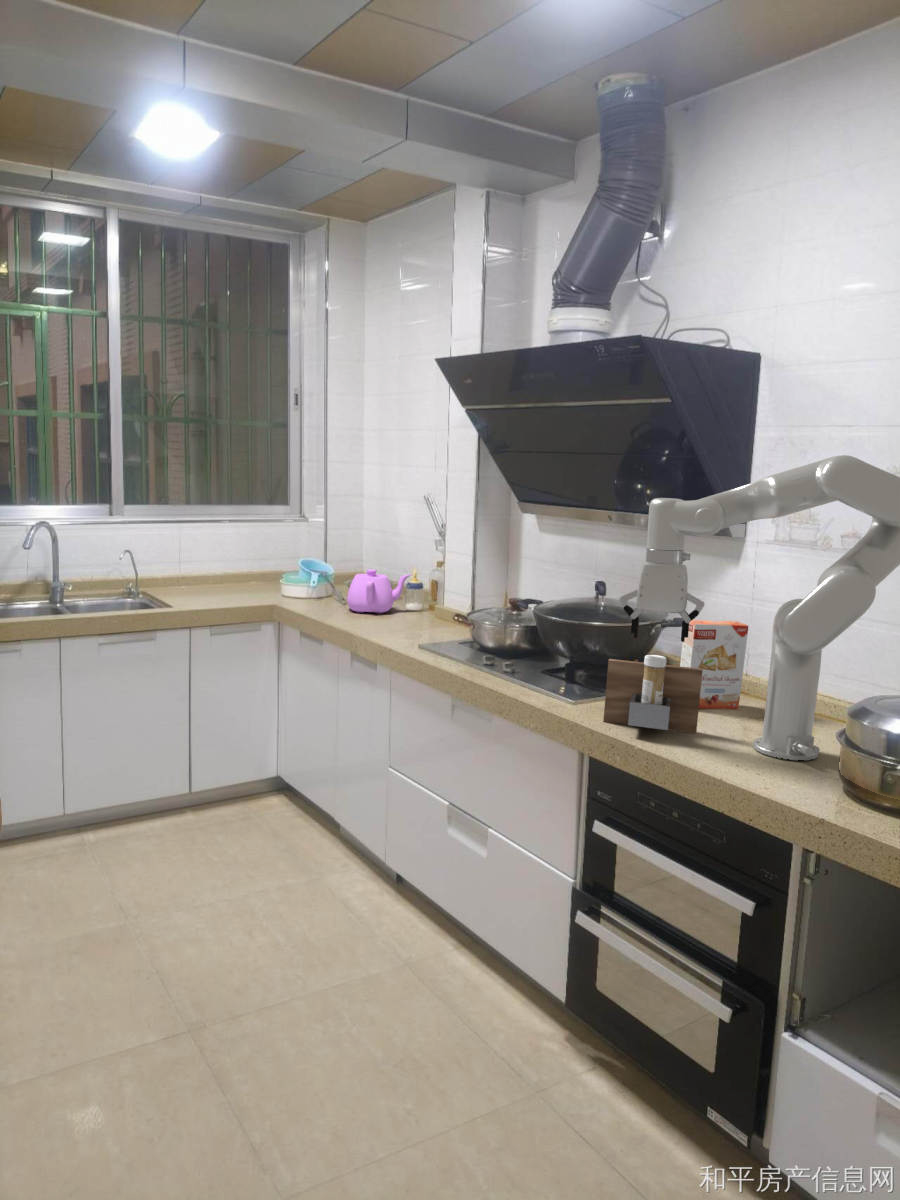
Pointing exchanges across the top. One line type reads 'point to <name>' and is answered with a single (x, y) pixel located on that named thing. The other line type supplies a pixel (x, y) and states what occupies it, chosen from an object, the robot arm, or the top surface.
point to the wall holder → (629, 709)
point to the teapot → (373, 592)
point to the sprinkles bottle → (653, 679)
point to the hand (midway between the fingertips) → (659, 638)
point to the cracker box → (717, 660)
